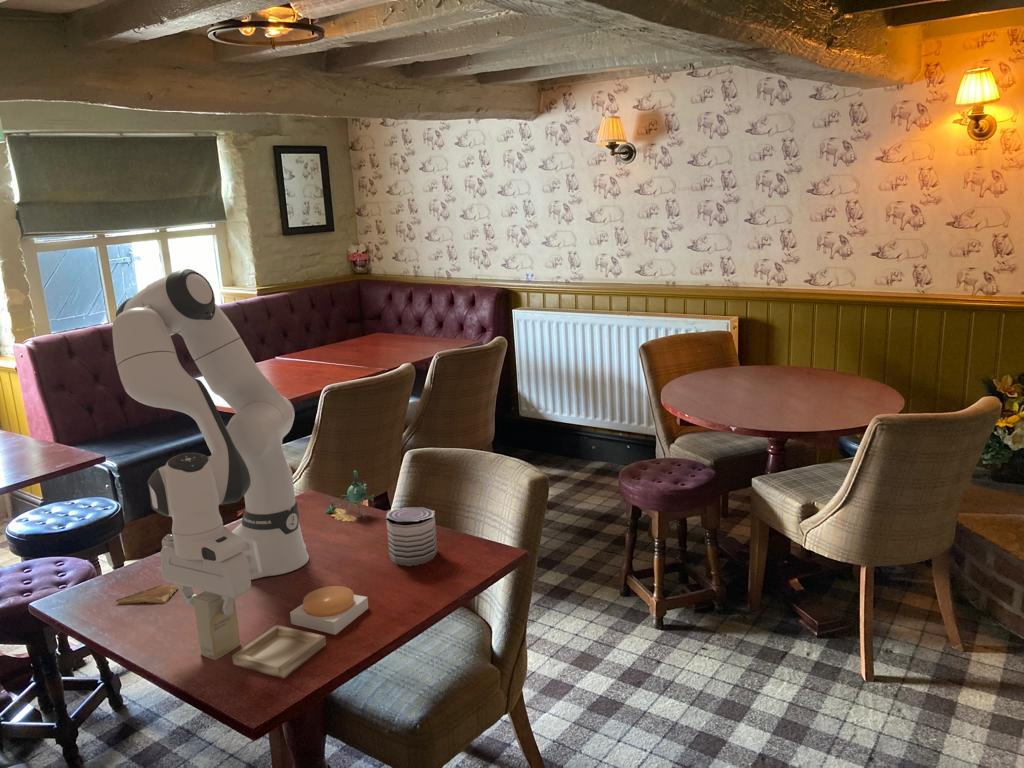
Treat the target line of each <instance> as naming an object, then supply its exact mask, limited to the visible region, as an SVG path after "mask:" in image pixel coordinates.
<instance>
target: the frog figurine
mask: <svg viewBox="0 0 1024 768" xmlns="http://www.w3.org/2000/svg"><path fill="white" fill-rule="evenodd" d="M353 478H354V481H353V482H352V483H351V485H350V486H349V487H348V489H347V492H346V493H347V494H342V495H340V501H339V504H338V506H339V507H342V504H341V503H342V501H343V502H344V504H345V506H346V509H342V508H337V505H336V504H334V501H333V500H331V505H328V507H326V509H325V511H324V514H330V516H332V517H334V519H335V520H337V521H341V522H354V521H357V520H358V518H357V517H356V516H353V515H349V514H348V511H350V506H351V505H353V506H356V507H357V509H358V512H359V517H361V515H362V518H363V519H366V518H367V517H366V516H364V513H363V510H362V508H361V506H360V505H359V503H360V502H363V500H365V498H367V499H369V500H371V501H372V502H374V497H375V495H374V494H371V495H369V492H366V489H367V487H368V485H367V483H368V482H367V481H366V480H363V485H362V483H361V482H360V481H359V474H358V471H357V470H354V471H353ZM343 497H345V498H343ZM370 497H372V498H370ZM342 498H343V499H342ZM346 500H347V501H349V504H348V505H347V503H346ZM346 510H347V511H346ZM332 513H333V514H332Z"/></svg>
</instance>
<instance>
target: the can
mask: <svg viewBox="0 0 1024 768" xmlns="http://www.w3.org/2000/svg"><path fill="white" fill-rule="evenodd" d="M435 513H436V511H435V510H432V509H430V508H426V507H424V506H423V507H418V506H417V507H401V508H397V509H393V510H389V511H387V513H386V515H385V516H384V518H386V529H387V542H388V554H389V559H390V560H391V562H393V563H394V565H398V564H399V566H404V565H405V566H404V567H413V566H412V565H414V566H419V565H418V564H421V563H425V562H427V561H428V560H431V559H432V558H434V557H435V554H436V552H437V553H438V544H437V543H438V542H437V529H436V528H437V527H436V516H435V515H436V514H435ZM436 555H437V554H436ZM435 558H436V557H435ZM431 561H432V560H431ZM427 563H428V562H427ZM425 564H426V563H425Z"/></svg>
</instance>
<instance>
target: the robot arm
mask: <svg viewBox="0 0 1024 768" xmlns="http://www.w3.org/2000/svg"><path fill="white" fill-rule="evenodd" d="M111 326H112V328H111V329H112V344H113V351H114V353H113V354H114V357H115V363H116V367H117V371H118V375H119V379H120V383H121V384H122V386H123V389H124V391H125V393H127V395H128V396H129V397H131V399H134V400H135V401H136V402H138V403H140V404H143V405H145V406H148V407H153V408H157V409H158V408H159V409H164V410H172V411H176V412H180V413H183V414H186V415H188V416H189V417H191V418H192V419H193V420H194V421H195V422H196V424H197V426H198V428H199V430H200V433H201V434H202V437H203V439H204V441H205V443H206V444H207V447H208V449H209V451H210V453H211V455H209V456H207V455H206V454H203V453H200V452H183V453H180V454H177V455H174V456H173V457H171V458H169V459H168V460H167V462H166V463H165V465H163V466H160V467H159V468H156V469H155V470H154V471H153V472H152V473H151V475H150V477H149V478H148V480H147V486H148V493H149V500H150V507H151V509H152V510H153V511H155V512H156V513H158V514H161V515H162V516H165V517H167V518H169V517H171V518H172V525H171V526H172V527H171V533H168V534H166V535H165V536H163V538H162V540H161V547H162V548H161V550H160V567H161V569H160V571H161V576H162V578H163V580H164V581H165V582H168V583H171V584H175V585H177V586H178V590H179V592H180V593H181V595H182V596H183V597H184V603H185V605H186V606H190V607H194V600H193V597H195V596H197V595H198V594H195V592H194V590H193V589H195V590H199V591H203V592H204V591H207V592H211V593H216V594H220V595H222V599H223V600H225V601H224V604H223V605H221V606H220V610H221V614H223V615H227V616H228V615H230V614H232V613H233V602H234V600H235V601H236V599H238V598H239V597H241V596H243V595H245V594H247V593H248V592H249V590H250V589H251V587H252V581H251V580H257V579H260V578H264V577H271V576H279V575H284V574H288V573H290V572H291V573H292V572H293V571H295V570H298V569H300V568H302V567H303V566H305V565H306V564H307V563H308V561H309V559H310V556H309V554H308V551H307V545H306V543H305V542H304V538H303V534H302V528H301V525H300V521H299V520H300V511H299V504H298V501H297V500H296V494H295V486H294V485H295V484H294V478H293V470H292V468H291V466H289V464H288V462H287V459H286V456H285V453H284V449H283V440H284V438H285V437H286V436H287V435H288V434H289V433H290V431H291V429H292V427H293V424H294V420H295V409H294V406H293V404H292V402H291V401H290V400H289V399H288V398H287V397H285V396H284V395H282V394H281V393H280V392H279V390H277V389H276V388H275V386H274V385H273V383H272V382H270V381H269V380H268V378H267V377H266V376H265V375H264V374H263V372H262V370H261V369H260V368H259V366H258V365H257V364H256V362H255V360H254V358H253V357H252V355H251V353H250V351H249V350H248V348H247V347H246V346H247V345H245V343H244V341H243V339H242V337H241V335H240V334H239V333H238V331H237V329H236V327H235V326H234V324H233V323H232V322H231V320H230V318H228V316H227V315H226V314H225V313H224V312H223V309H221V308H220V307H219V306H218V304H216V297H215V293H214V290H213V288H212V285H211V283H210V282H209V280H208V279H207V278H206V277H205V276H204V275H202V274H201V273H199V272H197V271H195V270H193V269H189V268H186V269H180V270H176V271H174V272H173V271H172V272H170V274H168V275H167V276H164V277H161V278H159V279H157V280H156V281H153V282H152V283H150V284H147V286H146V287H144V288H143V289H141V290H140V291H139V292H137V293H136V294H135V295H133V296H132V297H129V298H127V299H126V300H125V301H123V303H121V304H120V306H119V307H118V308H117V310H116V313H115V318H114V320H113V323H112V325H111ZM175 334H177V335H180V337H182V338H183V339H182V340H183V341H184V344H185V346H186V348H187V351H188V352H189V354H190V355H191V358H192V359H193V361H194V363H195V365H196V368H197V369H198V370H199V372H200V373H201V375H202V377H203V378H204V381H205V382H206V384H207V385H208V387H209V390H211V391H212V392H213V394H215V395H217V396H219V397H220V398H222V399H223V401H224V402H225V403H227V405H228V406H230V408H231V409H232V410H233V412H235V414H233V416H232V417H231V418H230V420H229V421H228V423H227V426H226V424H225V423H224V420H223V419H222V417H221V414H220V412H219V410H218V408H217V406H216V404H215V402H214V400H213V399H212V396H211V395H210V392H209V391H208V389H207V387H206V386H205V385H204V383H203V382H202V381H201V380H200V379H197V378H194V377H192V376H191V375H190V374H189V373H188V372H187V371H186V369H184V367H183V366H182V364H181V363H180V361H179V358H178V355H177V352H176V351H177V350H176V347H175V345H174V342H173V339H172V336H174V335H175ZM243 497H244V504H245V506H244V508H242V509H240V510H238V511H237V513H238V514H237V517H240V516H242V519H241V523H239V524H238V525H237V526H236V527H235V528H234V529H233V530H230V529H229V528H227V527H226V526H224V521H223V517H222V516H221V513H220V510H219V509H220V508H219V506H221V505H227V504H233V503H238V502H240V500H242V498H243Z"/></svg>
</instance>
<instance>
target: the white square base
mask: <svg viewBox="0 0 1024 768" xmlns="http://www.w3.org/2000/svg"><path fill="white" fill-rule="evenodd" d="M368 599H369V598H368V596H365V595H364V596H363V595H358V594H354V604H353V606H352V607H351V608H349V609H348V610H346V611H345V612H342V613H340V614H337V615H333V616H326V617H318V616H312V615H309V614H307V613H306V612H305V610H304V604H303V603H302V604H301V605H298V606H297V607H296V608H294V609H293V610H292V611H290V612H289V614H290V616H289V617H290V622H291V623H290V624H291V625H295V626H299V627H303V628H306V629H311V630H316V631H318V632H323V633H327V634H331V635H334V636H336V635H337V634H339V633H340V632H341V631H342V630H343V629H344V628H346V627H347V626H348V625H350V624H351V623H352V622H353V621H354V620H356V619H357V618H358V617H359V616H361V615H362V614H363V613H364V612H366V611H367V610H368V609H369V600H368Z"/></svg>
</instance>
